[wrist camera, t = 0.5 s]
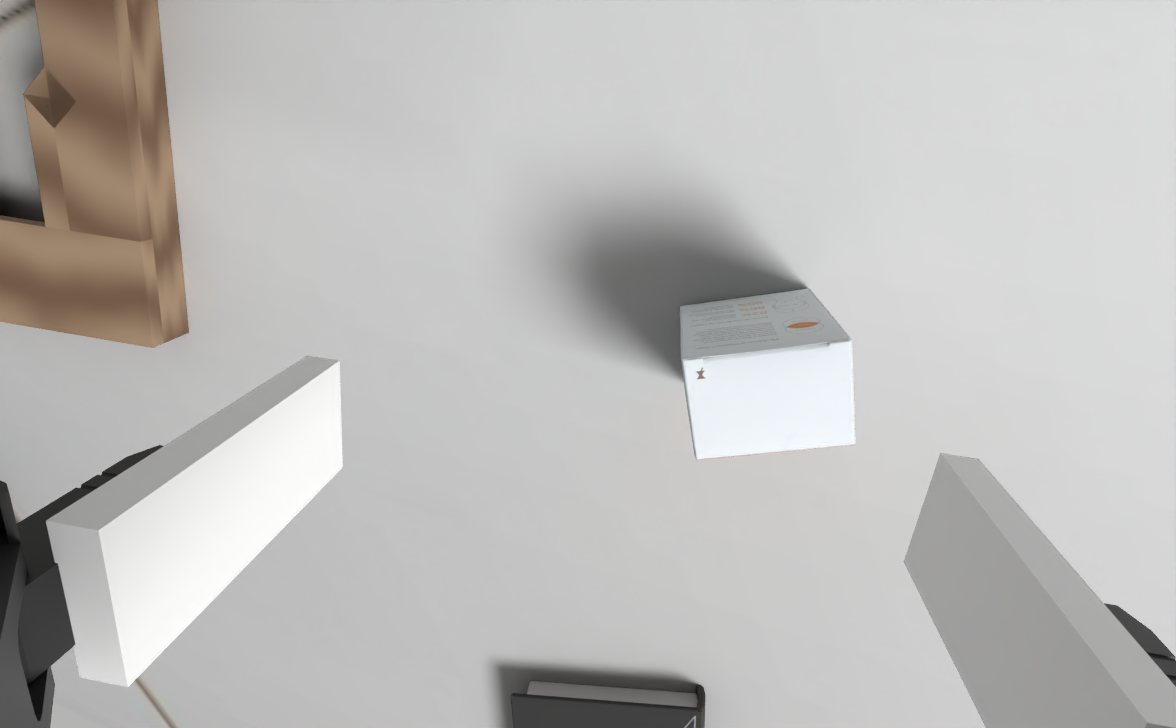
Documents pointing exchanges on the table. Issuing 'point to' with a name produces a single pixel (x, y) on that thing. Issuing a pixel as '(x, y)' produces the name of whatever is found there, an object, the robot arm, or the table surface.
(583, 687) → the book
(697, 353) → the small box
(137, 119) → the keyhole board
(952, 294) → the table surface
